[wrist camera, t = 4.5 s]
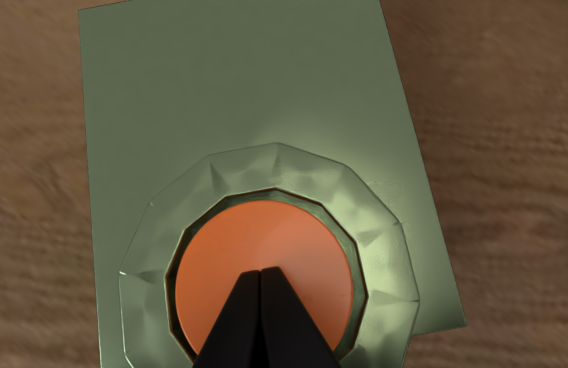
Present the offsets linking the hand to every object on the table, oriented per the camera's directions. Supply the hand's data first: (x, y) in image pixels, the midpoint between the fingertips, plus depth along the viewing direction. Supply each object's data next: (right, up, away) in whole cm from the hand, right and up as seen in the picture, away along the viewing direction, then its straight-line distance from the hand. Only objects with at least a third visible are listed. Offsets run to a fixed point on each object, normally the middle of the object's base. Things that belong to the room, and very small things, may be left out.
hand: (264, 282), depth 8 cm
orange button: (0, -1, +2) cm, 2 cm away
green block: (0, +2, +8) cm, 9 cm away
